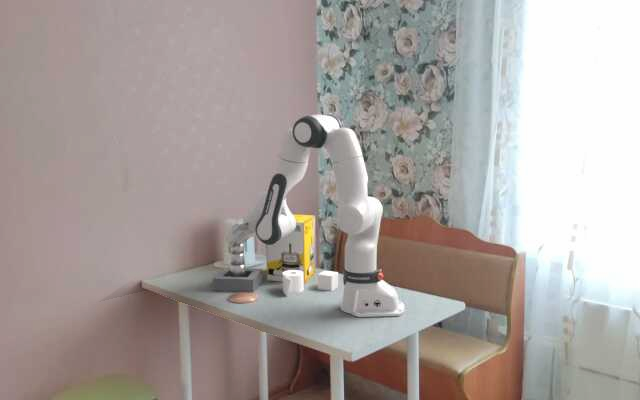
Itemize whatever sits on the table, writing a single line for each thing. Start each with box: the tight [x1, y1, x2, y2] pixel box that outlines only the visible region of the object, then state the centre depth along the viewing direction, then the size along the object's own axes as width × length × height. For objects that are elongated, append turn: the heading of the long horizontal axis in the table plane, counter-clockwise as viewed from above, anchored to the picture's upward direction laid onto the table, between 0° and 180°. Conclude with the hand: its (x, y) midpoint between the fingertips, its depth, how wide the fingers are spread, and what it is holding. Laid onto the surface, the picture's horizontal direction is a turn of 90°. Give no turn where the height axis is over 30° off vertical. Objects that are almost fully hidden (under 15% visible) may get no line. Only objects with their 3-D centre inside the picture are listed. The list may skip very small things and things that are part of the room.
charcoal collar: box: [212, 267, 263, 293], centre depth 227 cm, size 16×15×5 cm
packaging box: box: [265, 214, 317, 284], centre depth 238 cm, size 16×16×25 cm
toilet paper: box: [282, 270, 305, 297], centre depth 220 cm, size 8×11×7 cm
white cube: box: [317, 270, 339, 292], centre depth 224 cm, size 6×6×6 cm
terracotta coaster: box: [228, 292, 259, 304], centre depth 212 cm, size 11×11×1 cm
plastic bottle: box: [229, 225, 247, 276], centre depth 226 cm, size 6×7×20 cm
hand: (236, 243), depth 226 cm, fingers closed on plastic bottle, 6 cm apart
